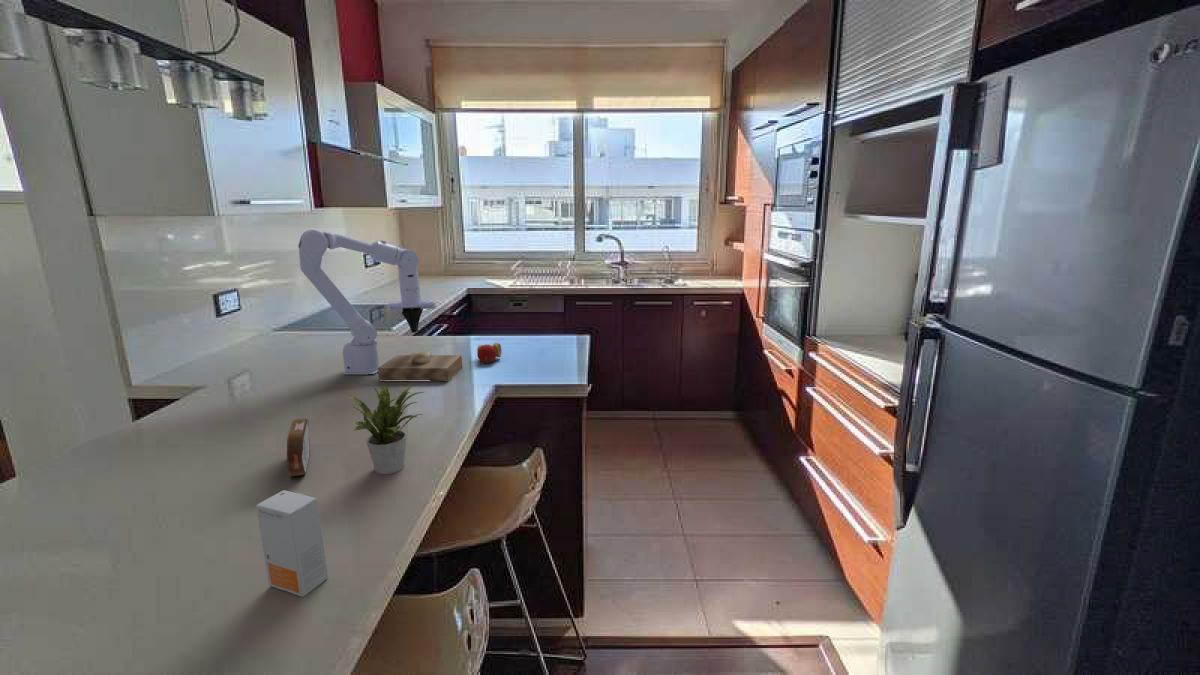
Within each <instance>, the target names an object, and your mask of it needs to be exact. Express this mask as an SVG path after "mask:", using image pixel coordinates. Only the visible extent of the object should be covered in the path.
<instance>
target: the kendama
mask: <svg viewBox="0 0 1200 675" xmlns="http://www.w3.org/2000/svg"><path fill="white" fill-rule="evenodd" d="M476 348H477V349H476V351H477V352H476V354H477V358H478V360H479V361H480V362H481V363H483V364H488V363H489V364H491V363H493V362H494V361H495V360H496V358H500V357H502V346H501V344H500V342H495V343H494V344H492V345H490V344H480V345H478V346H477V347H476Z"/></svg>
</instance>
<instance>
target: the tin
mask: <svg viewBox="0 0 1200 675" xmlns="http://www.w3.org/2000/svg"><path fill="white" fill-rule="evenodd" d="M309 422H310V421H309V419H308V418H292V420H291V425H290V427H289V430H288V433H287V437H286V465H287V473H288V476H289V477H290V478H292V477H297V476H298V477H299V476H303V475H306V473H307V471H308V466H309V463H310V456H311V440H310V434H309V426H310V423H309Z"/></svg>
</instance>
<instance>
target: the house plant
mask: <svg viewBox="0 0 1200 675" xmlns="http://www.w3.org/2000/svg"><path fill="white" fill-rule="evenodd" d="M383 385H384V386H383ZM383 385H382V386H381V388H380V390H379V391H378V390H377V389H376V388H375V387H374V386H373V387H372V388H373V389H374V391H375V393H376V396H377V399H378V405H377V407H376V409H374V410H373V412H372V411H371V409H370V407H368V405H367V404H366V403H365V402H363V401H362V400H361V399H358V398H357V397H355V396H353V395H349V394H348V395H347V394H346V395H347V396H348V397H349V398H351V399H352V400H353V401H355V403H356V404H357V405H358V406H359V407H360V408H361V409H362V410H361V409H360V408H358V407H355V406H352V405H351V408H353V409H356V410H357V411H358V412H360V413H361V414H362V416H363V420H364V421H356V422H355V424H356V425H357V426H356V427H355V428H354V429H353V431H360V430H367V431H368V432H370V434H371V435H369V436H368V437H367V438H366V439H365V441H366V445H367V448H368V449H367V450H368V453H369V454H370V458H371V462H372V465H373V468H374V471H375V473H377V474H381V475H390V474H394V473H397V472H399V471H401V470H403V469H404V467H405V459H406V448H407V446H406V445H407V432H405V431H402V429H403V428H404V427H405V426H406V425H407V424H408V423H409V422H410V421H411V420H412V419H414V418H417V419H419V417H418V416H422V415H423V413H419V414H418V413H417V414H415V415H414V414H408V415H405V416H402V415H403V414H405V413H404V410H405V409H406V408H407V407H409V406H410V405H413V404H417V403H419V402H416V401H413V402H410V403H408V404H405V403H406V401H408V400H409V399H410V398H412V397H413V396H416V395H419V394H423V393H424V391H418V392H415V393H412V394H410V395H408V394H409V393H411V391H409V390H410V389H412V387H414V384H411V386H409V387H407V388H406V389H405V390H403V391H402V392H401V394H400V395H399V396H398V397H396V398H393V399H391V397H390V396H391V395H390V394H391V393H390V392H389V388H388V386H387V385H386V383H384V384H383ZM407 395H408V396H407ZM395 400H396V401H395ZM393 401H395V403H394V405H392V406H391V403H392V402H393ZM401 416H402V417H401ZM400 417H401V418H400ZM405 419H408V420H407V421H406V422H405V423H404V424H403V425H402V426H401V425H399V424H400V423H401V422H403V421H404V420H405Z"/></svg>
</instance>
